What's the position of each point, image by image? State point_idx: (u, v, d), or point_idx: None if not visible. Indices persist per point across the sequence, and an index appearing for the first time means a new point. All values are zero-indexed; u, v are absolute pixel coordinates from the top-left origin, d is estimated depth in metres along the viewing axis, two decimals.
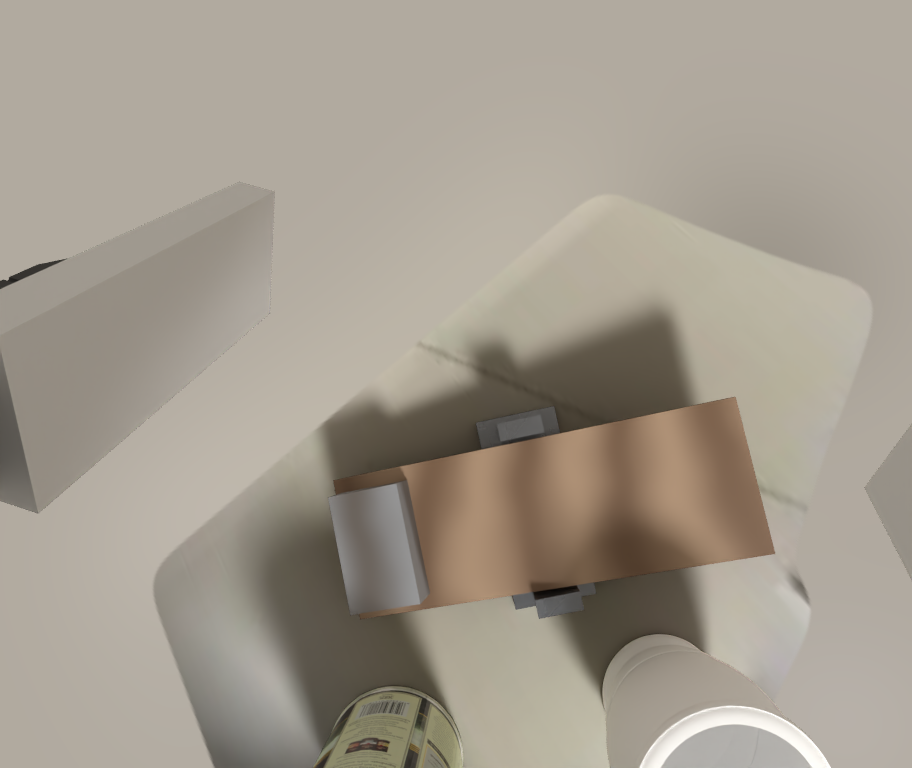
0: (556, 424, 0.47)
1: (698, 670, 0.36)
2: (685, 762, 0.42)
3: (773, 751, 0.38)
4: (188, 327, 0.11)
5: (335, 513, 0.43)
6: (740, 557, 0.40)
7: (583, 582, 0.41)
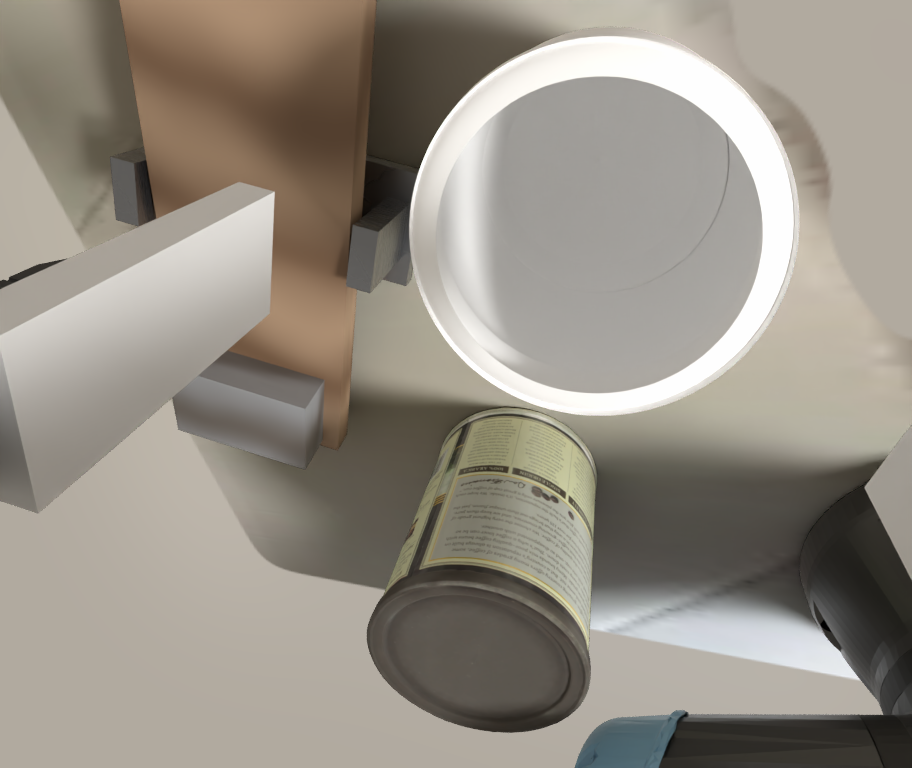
0: None
1: None
2: (680, 183, 0.27)
3: None
4: (188, 327, 0.11)
5: (195, 431, 0.37)
6: None
7: (348, 211, 0.28)
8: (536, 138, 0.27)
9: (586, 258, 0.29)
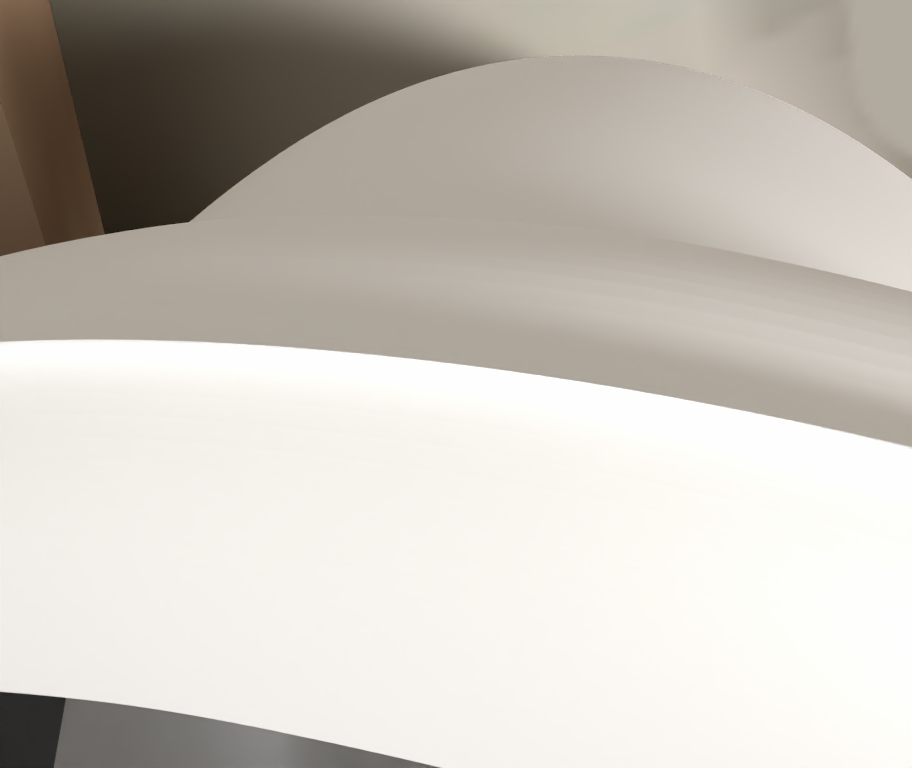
0: None
1: None
2: None
3: None
4: None
5: None
6: None
7: None
8: None
9: None
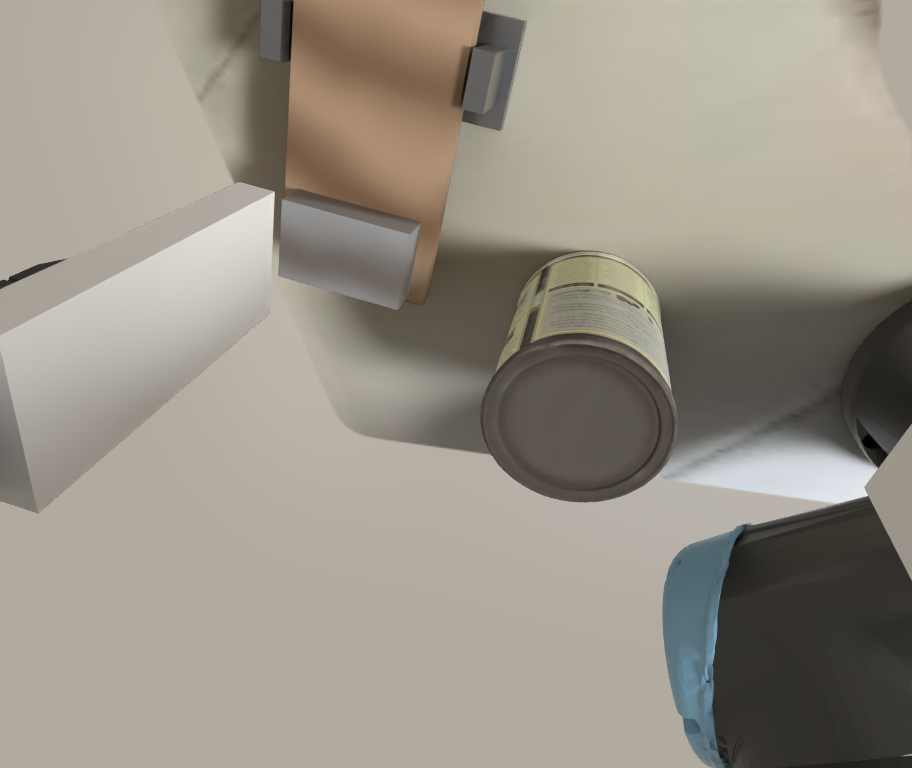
0: None
1: None
2: None
3: None
4: (188, 327, 0.11)
5: (295, 276, 0.40)
6: None
7: (470, 34, 0.33)
8: None
9: None
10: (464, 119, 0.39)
